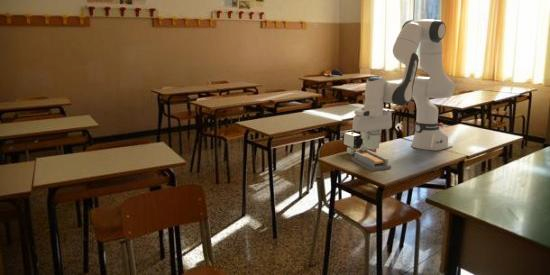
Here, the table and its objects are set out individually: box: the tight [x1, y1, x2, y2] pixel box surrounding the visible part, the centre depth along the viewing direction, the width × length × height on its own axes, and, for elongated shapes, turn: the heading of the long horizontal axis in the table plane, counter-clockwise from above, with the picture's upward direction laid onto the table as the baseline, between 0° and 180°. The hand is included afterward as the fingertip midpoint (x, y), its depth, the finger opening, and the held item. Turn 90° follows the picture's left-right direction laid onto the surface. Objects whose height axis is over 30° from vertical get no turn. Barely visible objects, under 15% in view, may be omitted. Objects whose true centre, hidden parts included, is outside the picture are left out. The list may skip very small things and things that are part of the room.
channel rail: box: [350, 150, 392, 172], centre depth 203 cm, size 11×18×4 cm, turn 20°
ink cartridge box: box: [360, 130, 377, 152], centre depth 226 cm, size 9×5×15 cm, turn 74°
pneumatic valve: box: [341, 131, 363, 155], centre depth 220 cm, size 6×12×12 cm, turn 31°
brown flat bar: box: [361, 152, 384, 164], centre depth 203 cm, size 5×14×1 cm, turn 20°
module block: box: [364, 130, 381, 150], centre depth 200 cm, size 4×7×8 cm, turn 21°
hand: (371, 138), depth 200 cm, fingers closed on module block, 4 cm apart
